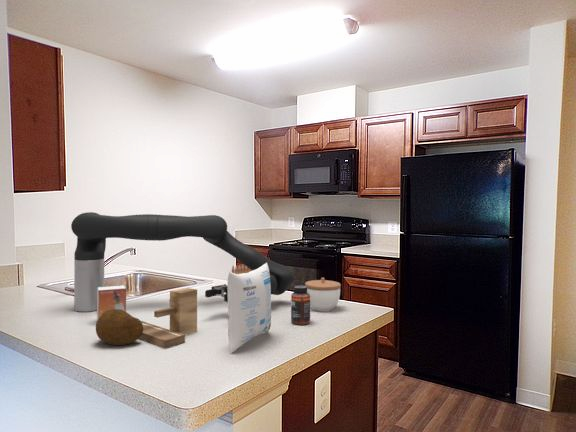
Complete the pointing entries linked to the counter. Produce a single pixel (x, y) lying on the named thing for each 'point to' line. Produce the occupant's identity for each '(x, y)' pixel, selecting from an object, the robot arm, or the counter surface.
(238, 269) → the ammunition clip
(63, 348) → the counter surface
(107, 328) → the potato
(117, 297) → the small box
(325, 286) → the lidded bowl
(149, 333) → the walnut board
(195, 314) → the tan block
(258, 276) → the pouch
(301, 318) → the supplement bottle
